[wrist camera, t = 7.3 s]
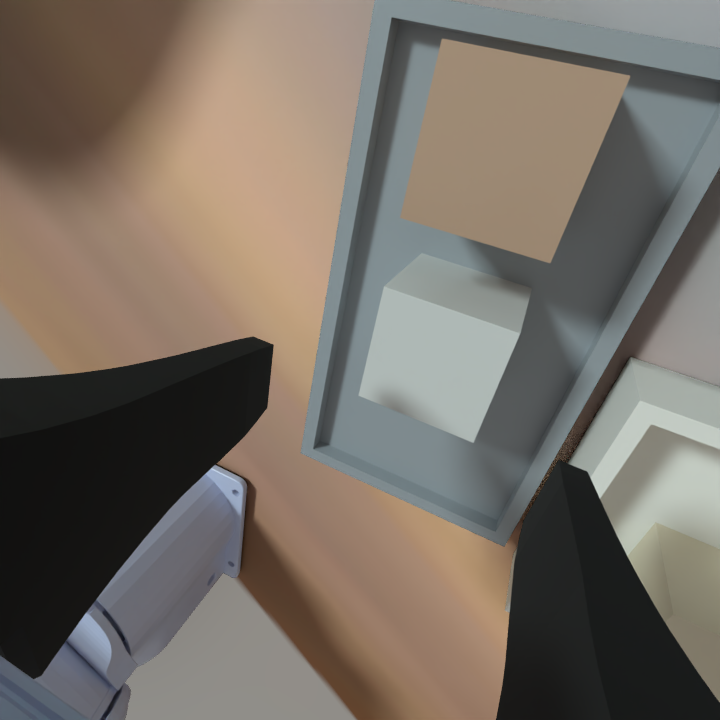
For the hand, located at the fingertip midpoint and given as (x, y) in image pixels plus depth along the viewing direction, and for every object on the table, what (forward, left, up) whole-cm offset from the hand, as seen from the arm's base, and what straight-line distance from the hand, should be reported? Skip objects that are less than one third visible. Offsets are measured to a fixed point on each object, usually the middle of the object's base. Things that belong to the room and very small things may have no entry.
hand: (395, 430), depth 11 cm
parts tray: (0, 0, -8) cm, 8 cm away
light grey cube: (0, 0, -7) cm, 7 cm away
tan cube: (+6, 0, -7) cm, 9 cm away
